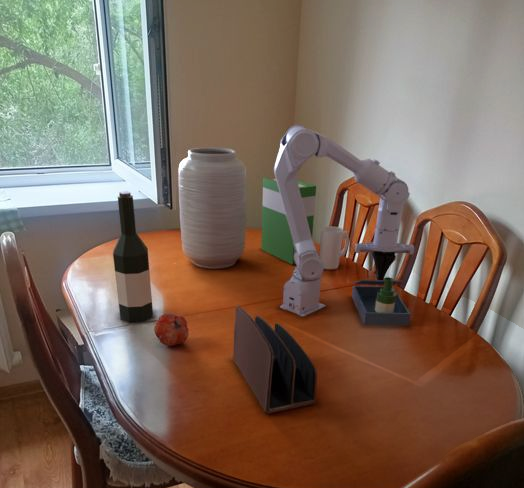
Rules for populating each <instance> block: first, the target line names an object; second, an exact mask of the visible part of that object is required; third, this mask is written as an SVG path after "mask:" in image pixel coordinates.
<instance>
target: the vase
mask: <svg viewBox="0 0 524 488" xmlns="http://www.w3.org/2000/svg"><path fill="white" fill-rule="evenodd" d="M247 186H248V185H247V167H246V164H245V163H244V162H243V160H241V159H239V158H238V157H237V151H236V150H234V149H231V148H226V147H225V148H224V147H195V148H190V149H188V151H187V157H185V158H184V159H182V160H181V162H179V166H178V201H179V223H180V224H179V225H180V238H181V239H180V240H181V248H182V252H183V253H184V255H185V257H186V258H187V259H189V260H190V261H191V263H192V264H193V265H194V266H196V267H198V268H203V269H210V270H218V269H225V268H229V267H232V266H233V265H235V264H236V263H237V261H238V260H239V259H240V258H241V257H242V256H243V254H244V252H245V250H246V249H245V248H246V237H247V235H246V233H247V188H248V187H247Z"/></svg>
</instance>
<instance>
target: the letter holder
mask: <svg viewBox="0 0 524 488" xmlns="http://www.w3.org/2000/svg"><path fill="white" fill-rule="evenodd" d="M232 350H233V351H232V361H233V362H234V363H235V365H236V366H237V368H238V370H239V372H240V373H241V375H242V376H243V378H244V380H245V382H246V383H247V385H248V386H249V388H250V390H251V391H252V393H253V395H254V396H255V398H256V399H257V401H258V403H259V404H260V406H261V408H262V410H263V411H264V413H265V414H266V415H270V414H274V413H278V412H283V411H288V410H293V409H297V408H302V407H307V406H311V405H315V404H316V398H317V383H318V382H317V381H318V371H317V368H316V365H315V363H314V362H313V361H312V359H311V357H310V356H309V354H308V353H307V352H306V351H305V350H304V349H303V347H302V346H301V345H300V343H299V342H298V341H297V340H296V339H295V338H294V337H293V336H292V335H291V333H290V332H289V331H288V330H287V329H286V328H285V327H283V325H281V324H279V323H276V322H275V323H274V328H272V326H271V325H270V324H269V323H268V322H267V321H266V320H265V319H264V318H262V317H261V316H259V315H256V316H255V317H254V318H253V317H252V316H251V315H250V314H249V313H248V312H247V311H246V310H245V309H244V308H243V307H242V306H240V305H236V306H235V309H234V326H233V349H232Z"/></svg>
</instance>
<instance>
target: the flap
mask: <svg viewBox="0 0 524 488" xmlns="http://www.w3.org/2000/svg"><path fill="white" fill-rule="evenodd" d="M384 282H385V281H384V279H383V280H377V279H359V280H357V281H355V282H353V285H357V286H384ZM401 283H404V280H395V279H394V282H393V285H392V286H396V285H399V284H401Z"/></svg>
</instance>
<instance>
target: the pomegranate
mask: <svg viewBox="0 0 524 488" xmlns="http://www.w3.org/2000/svg"><path fill="white" fill-rule="evenodd" d="M153 332H154V335H155V337H156V338H157V339H158V341H159V342H160V343H161V344H162V345H164V346H167V347H173V346H176V345H181V344H183V343H185V341H186V340H187V339H188V338H189V328H188V322H187V320H186V318H185V317H184V316H183V315H181V314H175V313H172V312H168V313H164V314H161V315H160V316H159V317H158V318H157V320H156V321H155V325H154V327H153Z"/></svg>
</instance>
